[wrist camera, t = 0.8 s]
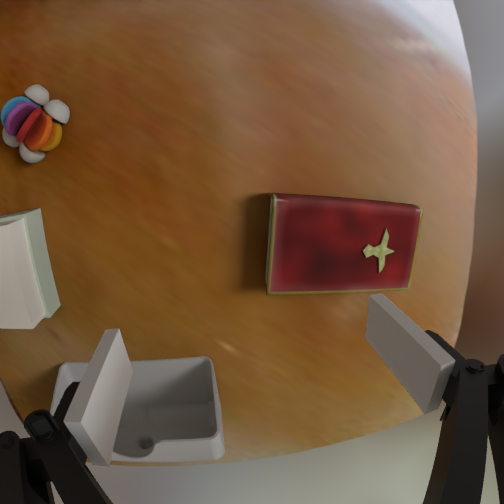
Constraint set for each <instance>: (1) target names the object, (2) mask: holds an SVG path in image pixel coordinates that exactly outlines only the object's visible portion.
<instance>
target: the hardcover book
mask: <svg viewBox="0 0 504 504" xmlns="http://www.w3.org/2000/svg"><path fill="white" fill-rule="evenodd" d="M268 197H271V202H270V218H269V233H268V248H267V262H266V276H265V282H266V284H267V289H266V294H267V295H290V294H330V293H358V292H381V291H400V290H409V288H410V283H411V279H412V274H413V269H414V264H415V259H416V253H417V247H418V241H419V235H420V229H421V222H422V215H423V209H422V208H421V207H419V206H417V205H413V204H404V203H395V202H385V201H375V200H364V199H353V198H341V197H328V196H314V195H298V194H280V193H268Z"/></svg>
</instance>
